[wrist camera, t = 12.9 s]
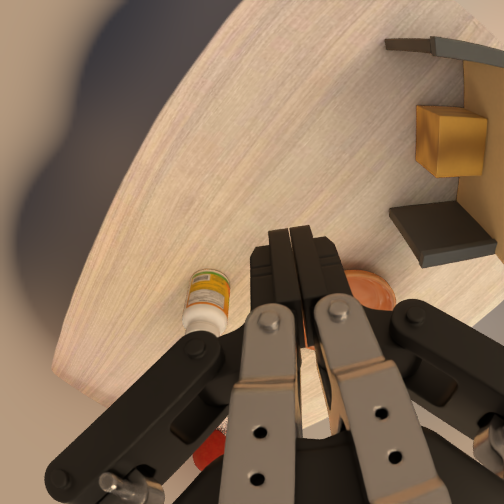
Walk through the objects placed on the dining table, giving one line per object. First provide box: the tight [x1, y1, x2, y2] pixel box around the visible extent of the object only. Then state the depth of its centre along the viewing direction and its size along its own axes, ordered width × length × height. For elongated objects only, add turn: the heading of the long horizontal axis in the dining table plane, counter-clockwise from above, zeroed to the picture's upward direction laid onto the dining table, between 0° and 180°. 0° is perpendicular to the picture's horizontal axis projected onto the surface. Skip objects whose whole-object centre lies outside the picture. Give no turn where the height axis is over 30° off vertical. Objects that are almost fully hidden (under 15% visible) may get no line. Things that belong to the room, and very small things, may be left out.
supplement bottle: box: [182, 269, 230, 337], centre depth 37 cm, size 5×5×10 cm
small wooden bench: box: [385, 36, 504, 268], centre depth 22 cm, size 11×21×16 cm, turn 10°
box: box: [416, 105, 487, 178], centre depth 26 cm, size 6×6×5 cm
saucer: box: [303, 270, 396, 350], centre depth 42 cm, size 16×16×3 cm
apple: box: [193, 429, 226, 471], centre depth 68 cm, size 10×10×14 cm
